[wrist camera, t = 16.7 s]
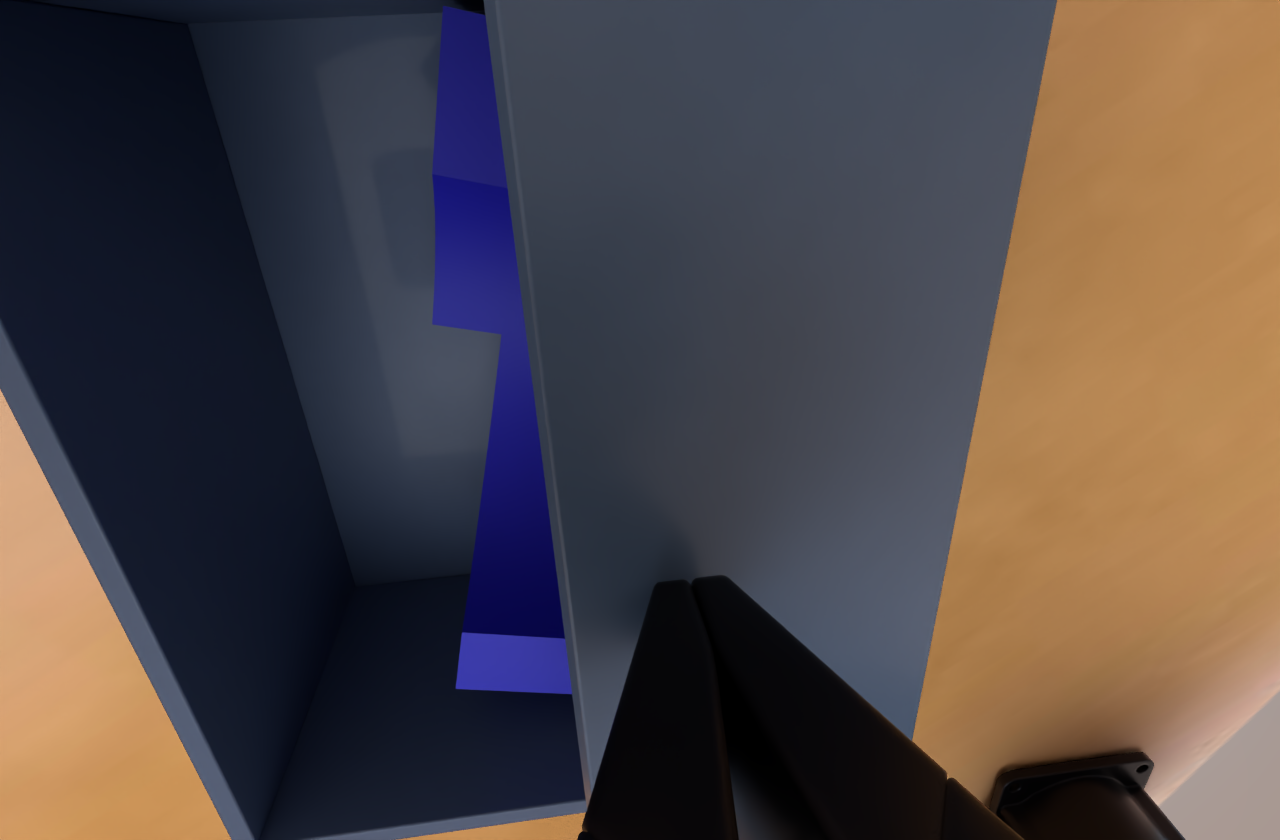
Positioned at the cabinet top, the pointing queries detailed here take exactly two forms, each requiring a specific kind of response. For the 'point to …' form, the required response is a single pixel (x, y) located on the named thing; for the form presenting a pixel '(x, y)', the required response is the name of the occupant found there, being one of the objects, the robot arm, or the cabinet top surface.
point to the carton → (265, 399)
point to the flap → (760, 305)
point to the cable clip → (491, 302)
